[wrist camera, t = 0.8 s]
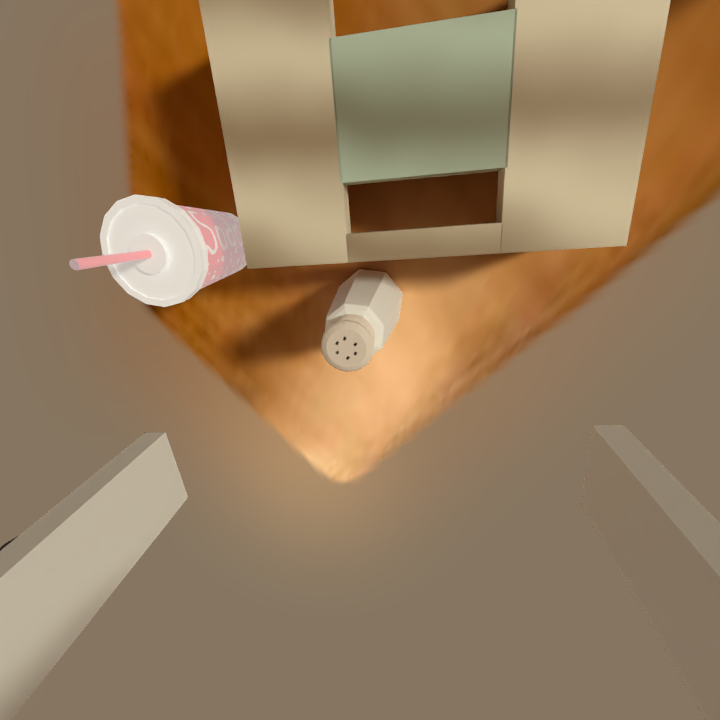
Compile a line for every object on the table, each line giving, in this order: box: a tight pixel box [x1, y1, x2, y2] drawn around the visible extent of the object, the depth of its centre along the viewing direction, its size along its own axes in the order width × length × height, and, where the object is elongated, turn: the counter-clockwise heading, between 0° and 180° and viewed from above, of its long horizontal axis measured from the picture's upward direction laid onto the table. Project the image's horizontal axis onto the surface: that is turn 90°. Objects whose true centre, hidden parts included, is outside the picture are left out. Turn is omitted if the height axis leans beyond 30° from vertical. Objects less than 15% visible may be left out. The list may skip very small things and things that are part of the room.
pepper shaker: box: [321, 269, 403, 372], centre depth 24 cm, size 5×5×11 cm
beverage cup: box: [69, 195, 247, 307], centre depth 22 cm, size 6×6×14 cm
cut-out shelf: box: [199, 0, 671, 269], centre depth 21 cm, size 14×20×8 cm
